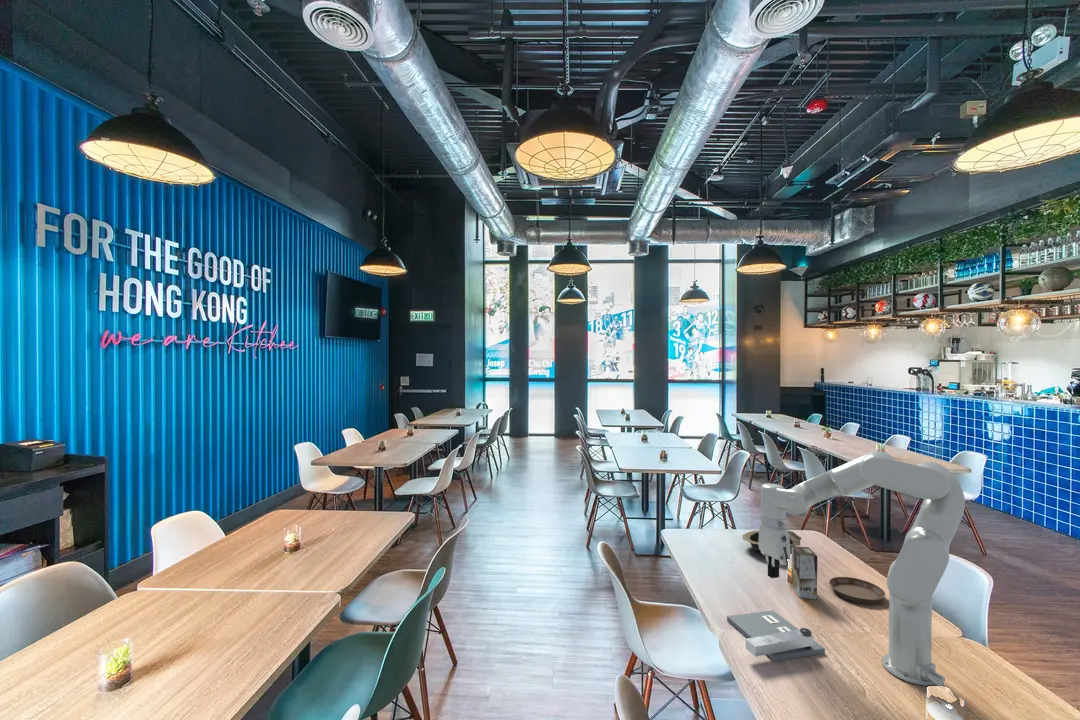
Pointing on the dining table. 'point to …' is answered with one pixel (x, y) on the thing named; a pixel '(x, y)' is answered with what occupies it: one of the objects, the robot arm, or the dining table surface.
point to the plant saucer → (857, 590)
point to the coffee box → (804, 572)
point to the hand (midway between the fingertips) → (773, 576)
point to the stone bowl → (754, 539)
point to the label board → (771, 631)
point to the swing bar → (780, 642)
